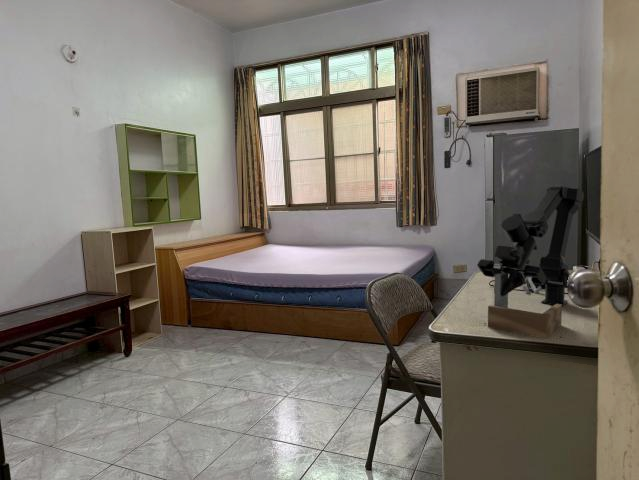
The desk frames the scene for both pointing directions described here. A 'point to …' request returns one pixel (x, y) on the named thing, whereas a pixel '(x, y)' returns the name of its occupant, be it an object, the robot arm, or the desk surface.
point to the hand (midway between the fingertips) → (498, 294)
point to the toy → (531, 285)
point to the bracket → (500, 290)
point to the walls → (525, 320)
